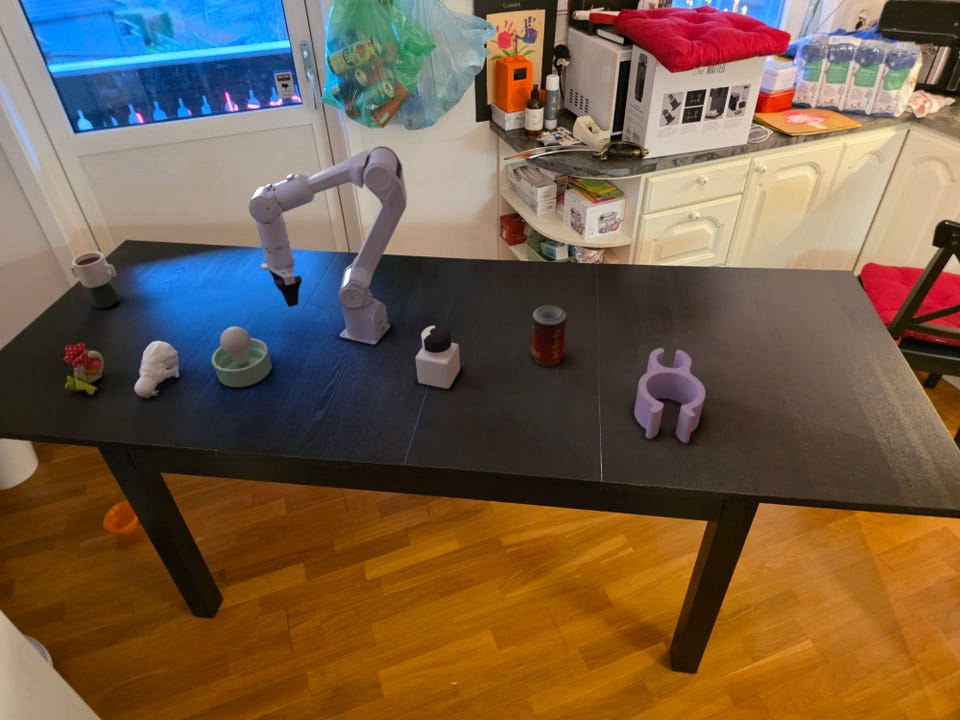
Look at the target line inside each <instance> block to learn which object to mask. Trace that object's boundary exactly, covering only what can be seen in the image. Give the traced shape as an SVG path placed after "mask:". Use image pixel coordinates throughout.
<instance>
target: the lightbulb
mask: <svg viewBox="0 0 960 720" xmlns="http://www.w3.org/2000/svg"><path fill="white" fill-rule="evenodd" d="M251 338H252V337H251V336H250V333H249V332H248V331H247V330H246V329H244V328H243V327H240V326H230V327H228V328H226V329H225V330H223V332H222V333H221V335H220V338H219V344H220V346H221V347H222V349H223V350H224V351H225V352H226V353H228V354H229V355H230V356H231V357H232V358H233V360H234V362H235V363H236V365H237V368H238V369H241V368H245V367H248V366H250V364H249V356H248V350H249V347H250V344H251Z"/></svg>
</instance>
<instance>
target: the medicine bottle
mask: <svg viewBox="0 0 960 720" xmlns="http://www.w3.org/2000/svg"><path fill="white" fill-rule="evenodd" d="M420 337H421V346H422V347H421V348H420V350H419V352H418V353H417V354H416V356H415V366H416V376H417V382H418V384H421V385H427V386H432V387H436V388H440V389H446V390H449V389H450V388H451V386H452V384H453V383H454V381H455V379H456V378H457V376H458V374H459V373H460V370H461V360H460V345H459V343H455V342H452V333H451V331H450V329H449V328H447V327H446V326H444V325H439V324H438V325H437V324H435V325H430V326H427V327H426V328H424V329H423V330H422V332H421V334H420Z"/></svg>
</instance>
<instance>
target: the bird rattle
mask: <svg viewBox="0 0 960 720" xmlns="http://www.w3.org/2000/svg"><path fill="white" fill-rule="evenodd" d="M64 349H65V352H66V354H65V356H64V357H63V358H62V359H63V361H64V362H65V363H67V364H72V366H73V375H74V377H72V376H71V375H68V376H67V377H66V380H67V382H66V384H65V385H64V388H65V389H66V390H70V391H75V392H81V391H83V390H85V391H86V393H88V394H89V395H94V394H95V392H96V391H99V388H98V387H97V386H94V385H92V384H91V383H93V382H95V381H97V380H98V379H101V378H102V377H103V375H102V373H103V371H104V367H105V360H104V357H103V355H102V353H100V352H98V351H96V350H90V349H86V345H85V344H84V342H78V343H76V344H75V345H70V344H67V345H65V347H64Z"/></svg>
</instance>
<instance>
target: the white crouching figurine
mask: <svg viewBox="0 0 960 720" xmlns="http://www.w3.org/2000/svg"><path fill="white" fill-rule="evenodd" d="M142 354H143V355H142V359H141V362H140V368H139V371H138V373H139V378H138V379H137V381H136V383H135V385H134V392H135V393H136V395H137V396H139V397H141V398H146V399H149V398H150V397H152V396H157V395H158V389H156V387H157V386H158V384H159V383H160V384H161V383H162V382H163V381H165V379H166V380H167V379H169V378H171V377H173V378H177V379H178V378H179V377H180V373H179V354H178V351H177V350H176V349H174V347H173V346H172V345H171V344H170V343H168V342H165V341H161V340H155V341H152V342H150V344H148V345H147V346H146V348H145V350H144V351H143V353H142ZM155 389H156V390H155Z"/></svg>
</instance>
